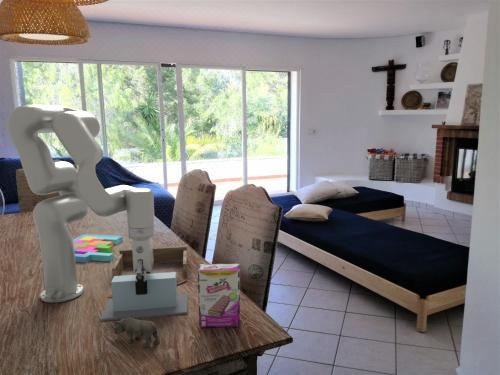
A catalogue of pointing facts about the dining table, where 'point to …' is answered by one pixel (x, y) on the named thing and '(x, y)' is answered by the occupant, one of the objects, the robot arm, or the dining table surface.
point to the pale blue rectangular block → (158, 295)
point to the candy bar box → (219, 295)
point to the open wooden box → (159, 256)
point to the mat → (146, 310)
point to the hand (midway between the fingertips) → (143, 286)
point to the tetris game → (95, 247)
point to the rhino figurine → (137, 329)
